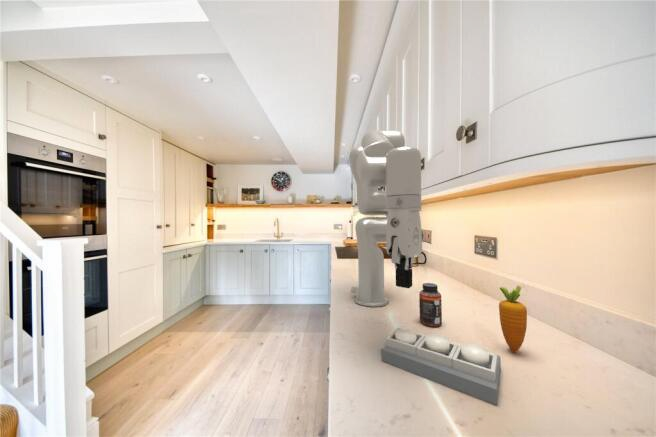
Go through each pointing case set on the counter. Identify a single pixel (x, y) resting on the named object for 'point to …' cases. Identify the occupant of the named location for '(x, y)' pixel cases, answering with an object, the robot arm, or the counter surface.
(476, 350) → the button right
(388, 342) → the panel
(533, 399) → the counter surface
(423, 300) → the supplement bottle
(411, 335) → the button left
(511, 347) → the carrot
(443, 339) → the button middle
